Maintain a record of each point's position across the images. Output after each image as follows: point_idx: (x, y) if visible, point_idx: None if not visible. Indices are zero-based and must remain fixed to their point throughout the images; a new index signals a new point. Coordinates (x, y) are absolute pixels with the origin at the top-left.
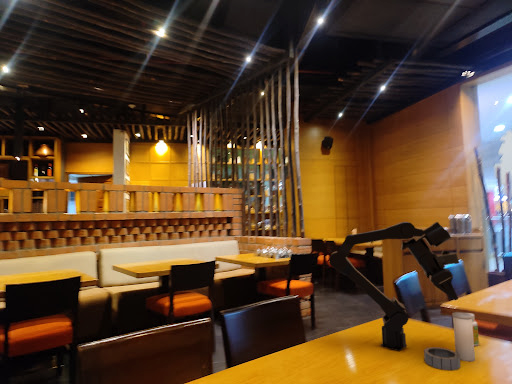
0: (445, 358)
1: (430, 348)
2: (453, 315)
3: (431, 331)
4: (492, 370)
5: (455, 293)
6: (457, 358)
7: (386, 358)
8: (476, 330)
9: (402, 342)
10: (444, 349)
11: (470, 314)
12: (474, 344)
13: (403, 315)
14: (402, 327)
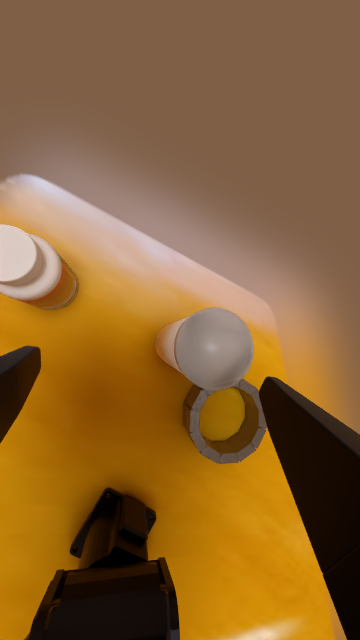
0: (263, 418)
1: (201, 442)
2: (220, 388)
3: None
4: (236, 312)
5: (314, 407)
6: (256, 388)
7: (210, 548)
8: (60, 256)
9: (145, 518)
10: (203, 404)
11: (212, 310)
12: (77, 281)
13: (178, 619)
14: (167, 566)
